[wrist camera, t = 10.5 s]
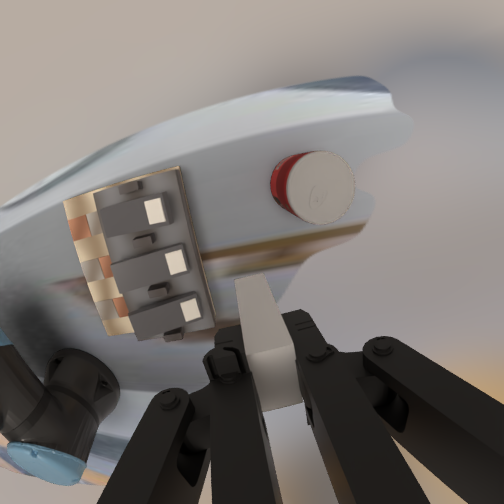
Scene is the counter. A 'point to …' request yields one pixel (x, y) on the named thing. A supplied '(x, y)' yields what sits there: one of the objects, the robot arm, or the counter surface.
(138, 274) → the rocker middle
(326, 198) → the canned food
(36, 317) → the counter surface
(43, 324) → the counter surface
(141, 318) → the rocker
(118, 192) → the switch unit
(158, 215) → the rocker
